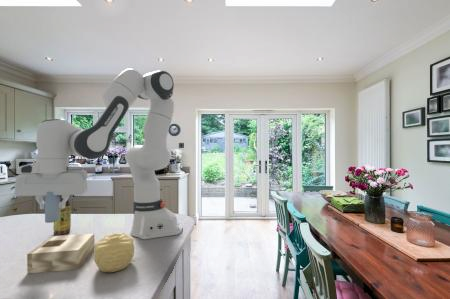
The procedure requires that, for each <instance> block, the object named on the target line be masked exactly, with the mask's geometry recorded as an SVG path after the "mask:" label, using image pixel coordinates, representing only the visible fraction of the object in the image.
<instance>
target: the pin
mask: <svg viewBox="0 0 450 299" xmlns="http://www.w3.org/2000/svg"><path fill="white" fill-rule="evenodd" d="M44 202H45V209H44V223H47V224H48V223H49V224H50V223H54V222H57V221H59V220H60V209H58V203H60V195H54V194H53V192H47V194H46V195H45V196H44Z"/></svg>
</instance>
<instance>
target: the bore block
mask: <svg viewBox="0 0 450 299" xmlns="http://www.w3.org/2000/svg"><path fill="white" fill-rule="evenodd" d="M94 245H95V233H83V234H82V233H80V234H68V235H66V234H63V235H52V236H51V237H49V238H47V239H46V240H45V241H43V242H42V243H40V244H39V245H38V246H36V247H35V248H34V249H31V251H29V252H28V253H27V254H26V255H27V256H26V258H27V259H26V263H27V264H26V267H27V268H26V271H27V272H26V273H27V274H36V273H48V272H59V271H61V272H62V271H68V270H69V271H70V270H79V269H80V268H81V267H82V265H83V264H84V263H85V261H87V259H88V258H89V257H90V256H91V254H92V253H93V252H95V247H94Z"/></svg>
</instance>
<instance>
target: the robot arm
mask: <svg viewBox="0 0 450 299" xmlns="http://www.w3.org/2000/svg"><path fill="white" fill-rule="evenodd" d="M173 79H174V78H173V77H172V75H171V74H170V73H169V72H167V71H165V70H155V71H152V72H148V73H145V74H144V75H142V74H141V73H140V72H139V71H138V70H136V69H134V68H126V69H125V70H123V71H121V73H120V74H118V75H117V76H116V77H115V78H114V79H113V80H112V81H111V82H110V83H109V85H108V86H107V87H106V89H105V90H104V92H103V94H102V100H103V102H104V105H105V106H106V107H105V109H104V111H103V112H102V114H101V115H100V117H99V118H98V119H97V120H96V122H95V123H94V124H93V125H92V126H90V127H88V128H86V129H83V128H81V127H78V126H76V125H75V124H73V123H71V122H69V121H68V120H67V119H66V118H50V119H44V120H43V121H41V122H39V124H38V126H37V129H36V130H37V131H36V138H35V140H36V142H35V146H36V148H37V154H36V158H35V162H32V163H28V164H24V165H21V166H19V167H17V169H16V170H17V173H18V175H17V176H16V178H15V181H14V182H15V183H14V194H15V195H16V196H17V197H35V200H36V202H37V204H39V209H40V210H45V195H46V194H47V192H53V194H54V195H62V198H64V199H63V201H62V202H60V203H58V209H62V208H65V202H66V201H67V200H68V199H69V198H70V196H72V195H73V196H75V195H77V196H78V195H80V196H81V195H84V194H86V193H87V192H88V190H89V189H88V180H87V178H88V170H87V169H86V168H84V167H82V166H77V167H76V166H70V156H72V155H73V156H76V157H81V158H85V159H89V160H96V159H99V158H102V157H103V156H104V155H106V154H107V153H108V150H109V148H110V145H111V140H112V136H113V135H114V133H115V131H116V129H118V126H119V124H120V123H121V122H122V120H123V118H124V117H125V115H126V113H127V112H128V110H129V109H130V108H131V107H132V105H133V104H134V103H135V101H136V100H137V98H139V99H141V100H149V101H150V106H149V107H150V108H149V110H148V113H147V115H146V119H145V121H144V124H143V127H142V131H143V134H144V142H143V144H137V145H134V146H132V147H129V149H127V151H126V152H125V161H126V163H127V165H128V167H129V170H130V173H131V176H132V182H133V202H132V214H133V219H132V226H131V229H130V232H129V234H130V236H131V237H136V238H139V239H141V240H150V239H156V238H164V237H169V236H171V237H172V236H177V235H180V234H181V233H182V232H183V225H182V223H180V222H178V219H177V216H176V213H174V212H173V211H171V210H169V209H168V208H167V207H165V206H166V202H165V200H164V199H161V183H160V180H159V179H158V178H157V176H156V171H159V170H163V169H165V168H166V167H168V165H169V164H170V160H171V155H170V152H169V150H168V147H167V140H168V134H169V130H170V126H171V123H172V120H173V115H174V110H175V103H174V101H173V99H172V96H173V91H174V85H175V84H174V80H173Z"/></svg>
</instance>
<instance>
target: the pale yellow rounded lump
mask: <svg viewBox="0 0 450 299" xmlns="http://www.w3.org/2000/svg"><path fill="white" fill-rule="evenodd" d="M134 241H135V238H134V237H133V236H131V235H130V236H129V235H127V234H126V233H125V232H121V233H119V232H117V233H112V234H105V235H104V237H102V239H100V240H99V241H97V242H94V251H93V252H94V253H93V260H94V262H95V265H96V267H97V268H98V269H99V270H100V271H101V272H103V273H116V272H118V271H119V272H120V271H122V270H124V269H125V268H127V267H128V266H129V265H130V263H131V262H132V261H133V258H134V255H135V244H134Z"/></svg>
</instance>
